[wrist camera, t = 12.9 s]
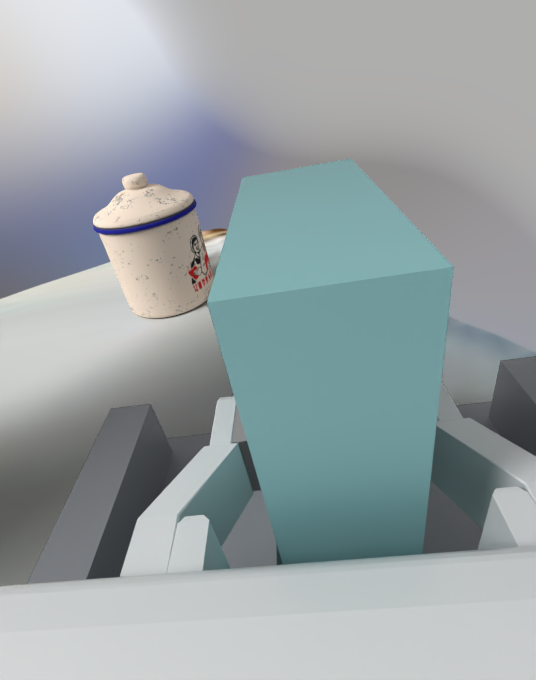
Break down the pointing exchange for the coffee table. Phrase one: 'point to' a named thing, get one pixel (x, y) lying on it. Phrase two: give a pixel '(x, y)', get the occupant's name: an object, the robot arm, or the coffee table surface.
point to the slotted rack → (253, 524)
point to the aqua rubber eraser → (334, 358)
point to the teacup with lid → (156, 248)
